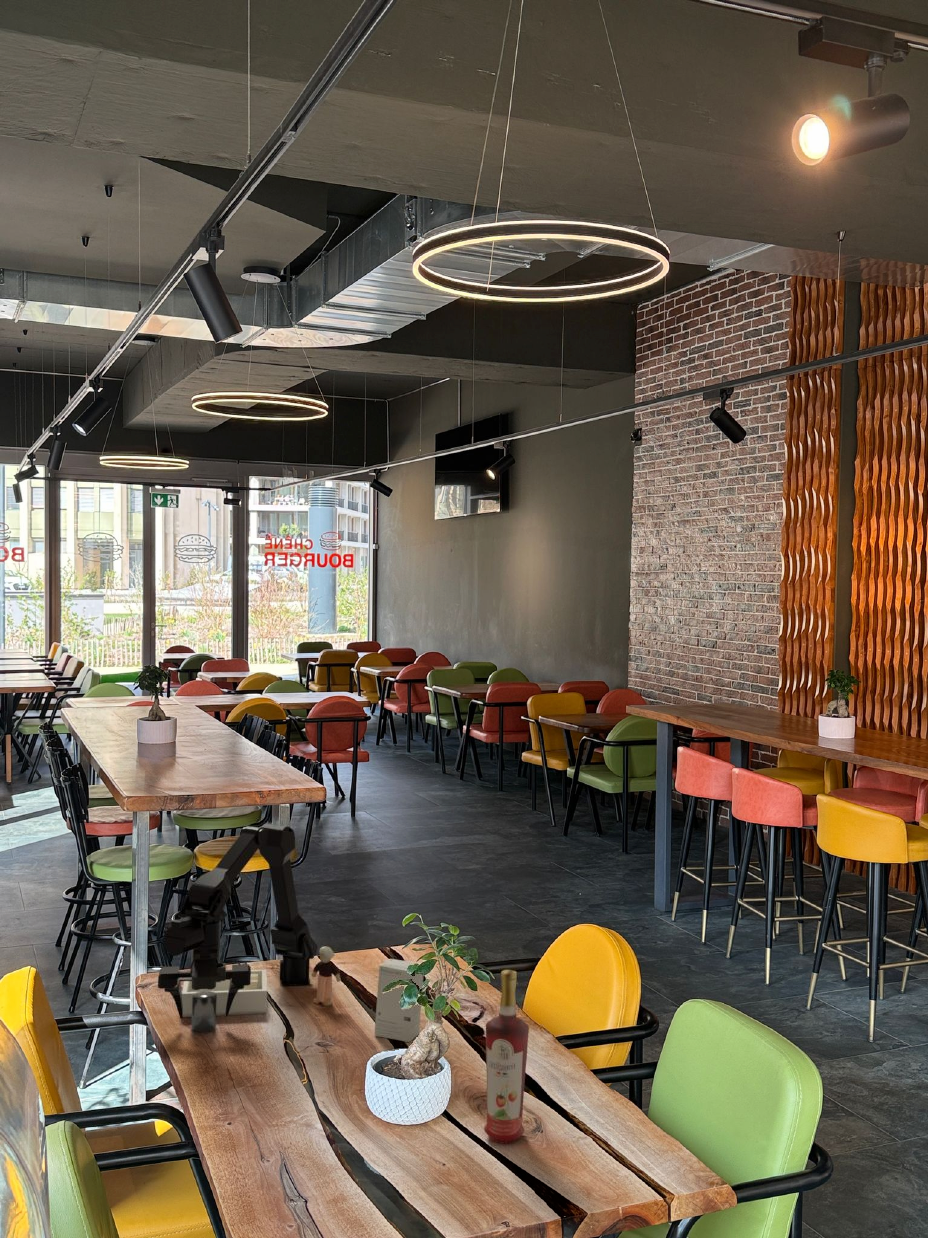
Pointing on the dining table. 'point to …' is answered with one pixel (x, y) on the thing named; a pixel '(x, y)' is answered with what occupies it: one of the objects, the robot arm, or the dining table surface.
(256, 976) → the wood cube
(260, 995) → the tote
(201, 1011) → the metal cylinder
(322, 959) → the grandmother figurine
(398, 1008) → the skincare box
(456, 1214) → the dining table surface
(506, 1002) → the liquor
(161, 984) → the robot arm
